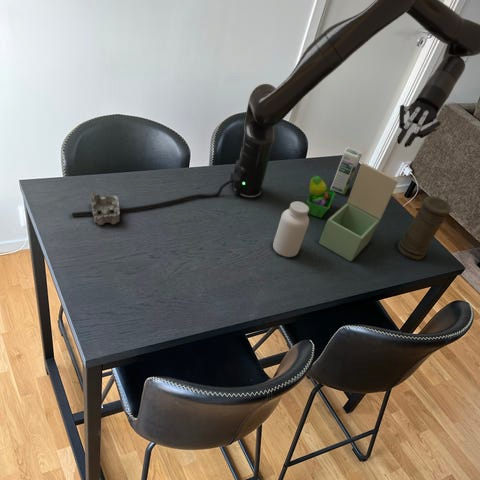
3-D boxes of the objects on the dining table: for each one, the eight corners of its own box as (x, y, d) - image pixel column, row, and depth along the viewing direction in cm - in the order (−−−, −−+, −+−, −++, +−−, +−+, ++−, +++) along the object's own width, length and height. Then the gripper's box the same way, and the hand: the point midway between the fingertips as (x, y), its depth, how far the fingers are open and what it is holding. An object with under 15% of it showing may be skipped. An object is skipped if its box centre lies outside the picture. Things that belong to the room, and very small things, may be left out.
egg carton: (91, 203, 135) (90, 190, 132) (117, 203, 137) (117, 191, 134) (92, 225, 128) (91, 213, 125) (120, 225, 130) (120, 213, 127)
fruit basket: (324, 221, 151) (335, 192, 143) (298, 212, 152) (308, 182, 144) (330, 204, 159) (342, 175, 151) (306, 195, 160) (316, 166, 151)
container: (424, 263, 146) (454, 216, 133) (397, 255, 146) (424, 207, 133) (422, 246, 153) (451, 200, 140) (396, 238, 153) (422, 191, 140)
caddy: (350, 261, 140) (362, 238, 133) (318, 242, 143) (327, 219, 136) (368, 242, 148) (380, 220, 142) (337, 225, 151) (347, 202, 145)
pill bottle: (301, 246, 140) (316, 204, 129) (294, 261, 134) (310, 219, 124) (276, 237, 141) (289, 194, 130) (269, 251, 135) (282, 208, 124)
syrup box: (329, 189, 165) (343, 152, 155) (333, 182, 169) (347, 145, 159) (344, 195, 165) (359, 158, 154) (348, 188, 169) (363, 151, 158)
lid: (397, 181, 129) (398, 180, 130) (361, 163, 132) (362, 162, 133) (380, 219, 141) (381, 218, 142) (347, 201, 144) (348, 200, 145)
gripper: (415, 75, 133) (381, 128, 134) (460, 94, 129) (424, 148, 130) (413, 90, 140) (381, 140, 141) (455, 108, 136) (421, 159, 137)
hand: (402, 144), depth 136 cm, fingers closed
